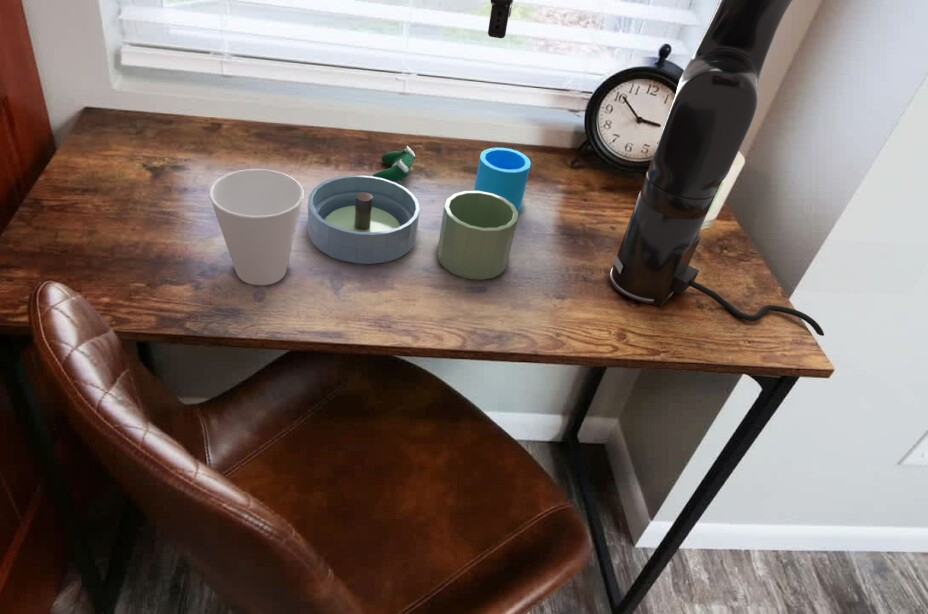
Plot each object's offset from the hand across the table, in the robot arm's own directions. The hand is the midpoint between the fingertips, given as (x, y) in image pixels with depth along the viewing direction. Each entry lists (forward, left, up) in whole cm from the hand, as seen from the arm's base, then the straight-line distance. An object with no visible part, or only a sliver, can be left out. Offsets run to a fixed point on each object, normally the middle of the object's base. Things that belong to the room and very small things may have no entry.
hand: (499, 26), depth 91 cm
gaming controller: (+17, -2, -30) cm, 35 cm away
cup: (+11, +32, -30) cm, 45 cm away
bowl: (+8, +15, -30) cm, 35 cm away
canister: (-7, +7, -30) cm, 32 cm away
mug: (+1, -10, -30) cm, 32 cm away
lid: (+8, +15, -29) cm, 34 cm away
